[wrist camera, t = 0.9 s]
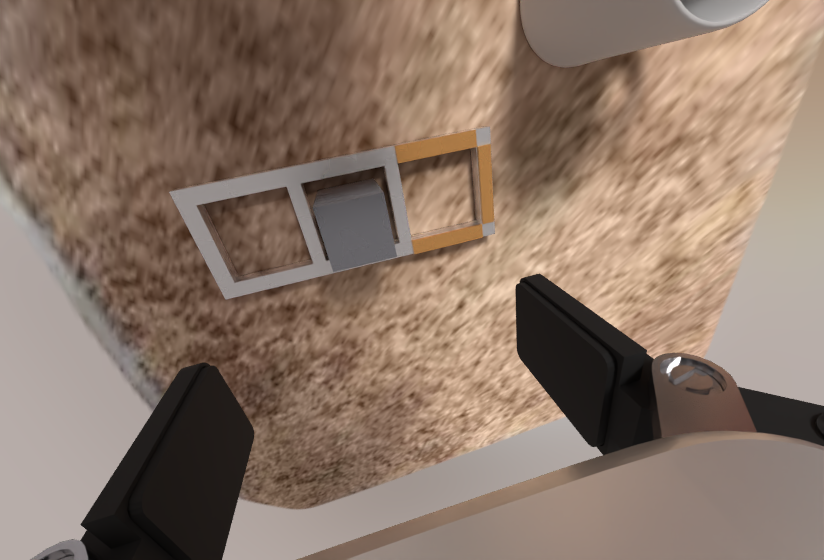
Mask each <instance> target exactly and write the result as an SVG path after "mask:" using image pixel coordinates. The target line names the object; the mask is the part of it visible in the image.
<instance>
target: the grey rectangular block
mask: <svg viewBox="0 0 824 560" xmlns="http://www.w3.org/2000/svg"><path fill="white" fill-rule="evenodd" d="M313 211H314V214H315V217H316V220H317V223H318V226H319V229H320V232H321V236H322V239H323V242H324V245H325V248H326V251H327V254H328V257H329V260H330V264H331V267H332V270H333V272H337V271H341V270H345V269H349V268H353V267H357V266H361V265H365V264H369V263H374V262H378V261H382V260H386V259H390V258H394V257H397V254H396V249H395V244H394V239H393V235H392V230H391V225H390V220H389V215H388V211H387V206H386V201H385V196H384V192H383V191H382V189H381V188H380V187H379V185H378V184H377V182H376V181H375V180H374V178H373V179H368V180H363V181H359V182H354V183H349V184H345V185H340V186H335V187H331V188H326V189H321V190H318V191H317V195H316V198H315V202H314V205H313Z"/></svg>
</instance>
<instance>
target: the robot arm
mask: <svg viewBox="0 0 824 560" xmlns="http://www.w3.org/2000/svg"><path fill="white" fill-rule="evenodd" d="M516 332H517V352H518V355H519V357H520V359H521V360H522V362H523V363H524V364H525V365H526V367H527V368H528V369H529V370H530V372H531V373H532V374H533V375H534V377H535V378H536V379H537V380H538V382H539V383H540V384H541V385H542V387H543V388H544V389H545V390H546V392H547V393H548V394H549V395H550V397H551V398H552V399H553V400H554V402H555V403H556V404H557V406H558V407H559V408H560V409H561V411H562V412H563V413H564V414H565V416H566V417H567V418H568V419H569V420H570V422H571V423H572V424H573V426H574V427H575V428H576V429H577V431H578V432H579V433H580V434H581V435H582V437H583V438H584V439H585V441H586V442H587V443H588V444H589V445H591V446H592V447H597V448H598V449H599V450H600V452H601V453H602V454H603V456H599V457H596V458H593V459H590V460H587V461H584V462H581V463H577V464H574V465H571V466H568V467H566V468H562V469H559V470H556V471H553V472H551V473H548V474H545V475H542V476H539V477H536V478H533V479H530V480H527V481H524V482H521V483H518V484H515V485H512V486H509V487H506V488H503V489H500V490H497V491H494V492H491V493H488V494H485V495H483V496H480V497H476V498H474V499H471V500H468V501H465V502H462V503H459V504H456V505H453V506H450V507H447V508H444V509H442V510H439V511H436V512H433V513H430V514H427V515H424V516H421V517H418V518H415V519H412V520H409V521H407V522H404V523H401V524H398V525H395V526H392V527H389V528H386V529H384V530H380V531H378V532H375V533H372V534H369V535H366V536H363V537H360V538H358V539H354V540H352V541H349V542H346V543H343V544H340V545H337V546H334V547H332V548H329V549H326V550H323V551H320V552H317V553H314V554H311V555H308V556H305V557H303V558H300V559H297V560H824V406H821V405H817V404H812V403H808V402H803V401H799V400H794V399H789V398H785V397H781V396H776V395H772V394H768V393H763V392H759V391H754V390H750V389H745V388H740V387H737V384H736V382H735V381H734V379H733V378H732V376H731V375H730V374H729V373H728V372H727V371H725V370H724V369H723V368H722V367H720V366H718V365H716V364H715V363H713V362H711V361H709V360H706V359H703V358H701V357H698V356H694V355H689V354H684V353H668V354H663V355H660V356H658V357H656V358H655V359H653V358H652V357H650V356H649V355H648V354H646V352H647V350H646V349H644V348H643V347H642V346H640V345H639V344H637V343H636V342H635V341H633V340H632V339H630V338H629V337H628V336H626V335H625V334H623V333H622V332H621V331H619V330H618V329H617V328H615V327H614V326H612V325H611V324H610V323H608V322H607V321H605V320H604V319H603V318H601V317H600V316H598V315H597V314H596V313H594V312H593V311H591V310H590V309H589V308H587V307H586V306H584V305H583V304H582V303H580V302H579V301H577V300H576V299H575V298H573V297H572V296H570V295H569V294H568V293H566V292H565V291H563V290H562V289H561V288H559V287H558V286H556V285H555V284H554V283H552V282H551V281H549V280H548V279H547V278H545V277H544V276H542V275H541V274H536V275H532V276H528V277H524V278H522V279H521V280H520V283H519V284H517V285H516ZM253 440H254V430H253V427H252V425H251V423H250V421H249V420H248V418H247V416H246V415H245V413H244V411H243V410H242V408H241V407H240V405H239V403H238V402H237V400H236V398H235V397H234V395H233V393H232V392H231V390H230V388H229V387H228V385H227V384H226V382H225V380H224V379H223V377H222V375H221V374H220V372H219V370H218V369H217V368H216V367H215V366H210V365H209V364H207V363H200V364H197V365H193V366H189V367H185V368H183V369H181V370H180V371H179V372H178V374H177V376H176V377H175V379H174V380H173V382H172V383H171V385H170V386H169V388H168V390H167V391H166V393H165V394H164V396H163V397H162V399H161V400H160V402H159V404H158V405H157V407H156V408H155V410H154V411H153V413H152V414H151V416H150V418H149V419H148V421H147V422H146V424H145V425H144V427H143V429H142V430H141V432H140V433H139V435H138V436H137V438H136V439H135V441H134V442H133V444H132V446H131V447H130V449H129V450H128V452H127V453H126V455H125V456H124V458H123V460H122V461H121V463H120V464H119V466H118V467H117V469H116V470H115V472H114V474H113V475H112V477H111V478H110V480H109V481H108V483H107V484H106V486H105V488H104V489H103V491H102V492H101V494H100V495H99V497H98V499H97V500H96V502H95V503H94V505H93V506H92V508H91V509H90V511H89V512H88V514H87V516H86V517H85V519H84V520H83V522H82V523H81V526H83V527H84V528H85V529H86V530H87V531H86V532H85V534H84V536H83V537H82V539H81V540H80V541H79V540H74V539H72V540H68V541H63V542H60V543H58V544H56V545H54V546H52V547H49V548H47V549H46V550H44V551H43V552H41V553H40V554H38V555H37V556H35V557H34V558H32V559H31V560H222V557H223V553H224V550H225V546H226V542H227V538H228V535H229V531H230V527H231V523H232V519H233V515H234V512H235V508H236V504H237V500H238V497H239V493H240V489H241V485H242V482H243V478H244V474H245V470H246V466H247V463H248V459H249V455H250V451H251V447H252V444H253Z"/></svg>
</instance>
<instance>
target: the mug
mask: <svg viewBox="0 0 824 560" xmlns="http://www.w3.org/2000/svg"><path fill="white" fill-rule="evenodd" d="M768 1H769V0H520V13H521V21H522V26H523V30H524V33H525V36H526V38H527V41H528V43H529V45H530V46H531V48H532V49H533V51H534V52H535V53H536V54H537V55H538V56H539V57H540V58H541V59H542V60H543V61H545V62H546V63H548V64H551V65H553V66H557V67H566V68H568V67H576V66H580V65H584V64H587V63H591V62H594V61H598V60H601V59H605V58H609V57H613V56H617V55H621V54H625V53H629V52H633V51H637V50H641V49H645V48H649V47H653V46H657V45H661V44H666V43H670V42H674V41H678V40H682V39H686V38H690V37H694V36H698V35H702V34H706V33H710V32H713V31H716V30H720V29H723V28H726V27H729V26H731V25H734V24H736V23H738V22H740V21H742V20H744V19H745V18H747V17H748V16H750V15H752V14H753V13H755V12H756V11H757V10H758V9H760V8H761V7H762V6H764V5H765V4H766V3H767V2H768Z"/></svg>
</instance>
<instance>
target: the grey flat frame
mask: <svg viewBox="0 0 824 560" xmlns="http://www.w3.org/2000/svg"><path fill="white" fill-rule="evenodd" d="M469 148H470V150H471V163H472V176H473V189H474V203H475V216H476V220H474V221H470V222H466V223H461V224H457V225H453V226H449V227H445V228H440V229H436V230H432V231H428V232H424V233H419V234H415V235H411V234H410V229H409V223H408V218H407V212H406V207H405V201H404V196H403V190H402V184H401V179H400V173H399V168H398V163H403V162H407V161H412V160H417V159H422V158H426V157H431V156H436V155H441V154H445V153H450V152H455V151H460V150H464V149H469ZM382 166H383V169H384V174H385V179H386V184H387V189H388V194H389V199H390V204H391V209H392V214H393V219H394V224H395V229H396V234H397V239H394V244H395V249H396V254H397V257H394V258H398V257H402V256H406V255H410V254H418V253H422V252H426V251H430V250H434V249H438V248H442V247H447V246H451V245H455V244H459V243H463V242H467V241H471V240H475V239H479V238H483V236H488V235H492V234H495V224H494V203H493V182H492V160H491V139H490V127H488V126H483V127H478V128H473V129H468V130H463V131H459V132H454V133H449V134H444V135H439V136H434V137H429V138H424V139H419V140H414V141H409V142H404V143H399V144H394V145H390V146H385V147H380V148H375V149H370V150H365V151H360V152H355V153H350V154H345V155H340V156H335V157H330V158H326V159H321V160H316V161H311V162H306V163H301V164H296V165H291V166H286V167H281V168H276V169H271V170H266V171H261V172H257V173H252V174H247V175H242V176H237V177H232V178H227V179H222V180H217V181H212V182H207V183H202V184H197V185H193V186H188V187H183V188H178V189H175V190H172V191H170V192H169V193H170V195H171V197H172V199H173V201H174V203H175V204H176V206H177V208H178V210H179V212H180V214H181V216H182V218H183V220H184V222H185V223H186V225H187V227H188V229H189V231H190V233H191V235H192V237H193V239H194V241H195V242H196V244H197V246H198V248H199V250H200V252H201V254H202V256H203V258H204V260H205V262H206V263H207V265H208V267H209V269H210V271H211V273H212V275H213V277H214V279H215V281H216V282H217V284H218V286H219V288H220V290H221V292H222V294H223V296H224V298H225V300H226V299H230V298H234V297H238V296H243V295H247V294H251V293H255V292H259V291H263V290H267V289H271V288H275V287H279V286H283V285H287V284H292V283H296V282H300V281H304V280H308V279H312V278H316V277H320V276H324V275H328V274H332V273H336V272H333V270H332V267H331V264H330V260H329V257H328V255H327V256H326V253H325V250H324V247H323V244H322V241H321V238H320V235H319V232H318V229H317V225H316V222H315V219H314V216H313V213H312V210H311V207H310V204H309V201H308V198H307V195H306V191H305V188H304V185H303V183H306V182H310V181H315V180H320V179H325V178H329V177H334V176H339V175H344V174H348V173H353V172H358V171H363V170H367V169H372V168H377V167H382ZM282 187H287V189H288V192H289V195H290V198H291V201H292V204H293V207H294V209H295V212H296V215H297V218H298V221H299V224H300V227H301V229H302V232H303V235H304V238H305V241H306V244H307V247H308V250H309V252H310V255H311V258H312V259H310V260H306V261H302V262H298V263H293V264H289V265H285V266H281V267H277V268H272V269H268V270H264V271H260V272H256V273H251V274H247V275H243V276H238V274H237V272H236V270H235V268H234V266H233V264H232V262H231V260H230V257H229V255H228V253H227V251H226V249H225V247H224V245H223V243H222V241H221V239H220V237H219V235H218V233H217V231H216V228H215V226H214V224H213V222H212V220H211V218H210V216H209V214H208V212H207V210H206V208H205V206H204V204H206V203H210V202H215V201H220V200H225V199H229V198H234V197H239V196H244V195H248V194H253V193H258V192H263V191H267V190H272V189H277V188H282ZM394 258H390V259H394ZM390 259H386V260H390ZM382 261H385V260H382ZM378 262H381V261H378ZM374 263H377V262H374ZM369 264H373V263H369ZM369 264H365V265H369ZM365 265H361V266H365ZM361 266H357V267H361ZM357 267H353V268H357ZM353 268H349V269H353ZM349 269H345V270H349ZM345 270H341V271H345ZM341 271H337V272H341Z"/></svg>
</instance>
